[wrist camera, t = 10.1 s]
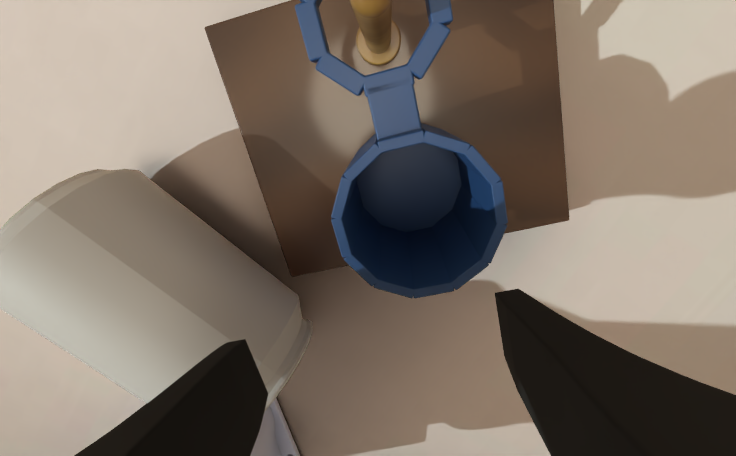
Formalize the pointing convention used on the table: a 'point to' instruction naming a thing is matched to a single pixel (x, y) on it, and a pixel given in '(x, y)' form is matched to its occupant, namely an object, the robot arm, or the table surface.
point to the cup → (409, 177)
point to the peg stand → (433, 94)
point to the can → (142, 285)
